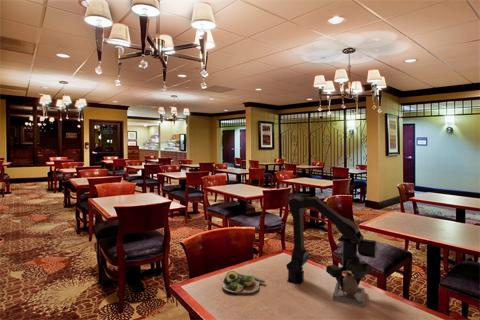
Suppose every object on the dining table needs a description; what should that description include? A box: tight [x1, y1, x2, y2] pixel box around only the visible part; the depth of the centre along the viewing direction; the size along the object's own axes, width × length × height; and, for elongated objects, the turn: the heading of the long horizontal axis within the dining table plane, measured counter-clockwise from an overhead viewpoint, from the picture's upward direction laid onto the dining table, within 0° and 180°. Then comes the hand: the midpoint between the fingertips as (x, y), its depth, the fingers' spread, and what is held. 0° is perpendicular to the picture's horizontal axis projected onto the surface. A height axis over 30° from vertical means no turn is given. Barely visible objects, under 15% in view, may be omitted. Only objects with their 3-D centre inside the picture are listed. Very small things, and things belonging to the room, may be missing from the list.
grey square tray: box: [331, 282, 366, 308], centre depth 120 cm, size 12×12×2 cm
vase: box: [342, 272, 359, 296], centre depth 120 cm, size 7×7×9 cm
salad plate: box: [221, 270, 266, 295], centre depth 130 cm, size 19×18×5 cm
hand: (348, 288), depth 120 cm, fingers closed on vase, 7 cm apart
